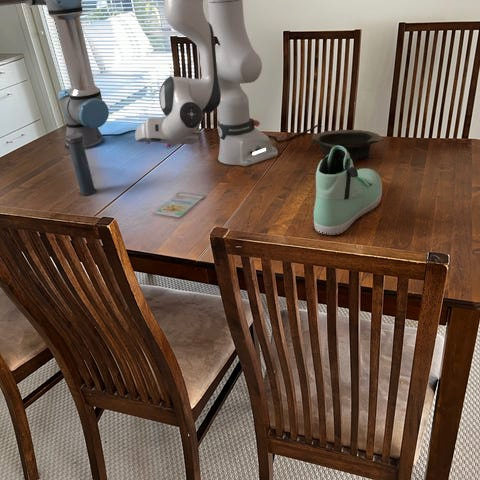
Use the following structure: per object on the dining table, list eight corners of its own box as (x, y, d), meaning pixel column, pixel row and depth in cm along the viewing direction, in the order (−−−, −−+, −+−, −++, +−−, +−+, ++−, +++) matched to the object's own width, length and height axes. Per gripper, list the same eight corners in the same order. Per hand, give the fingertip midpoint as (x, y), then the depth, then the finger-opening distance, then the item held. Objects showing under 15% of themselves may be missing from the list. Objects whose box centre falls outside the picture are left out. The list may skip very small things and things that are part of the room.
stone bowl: (339, 174, 158) (339, 147, 154) (298, 157, 178) (296, 133, 174) (397, 156, 167) (398, 130, 163) (351, 141, 187) (350, 118, 183)
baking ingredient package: (153, 211, 144) (180, 191, 155) (154, 213, 144) (180, 193, 156) (178, 216, 140) (203, 195, 152) (178, 217, 141) (204, 197, 152)
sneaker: (389, 187, 148) (396, 123, 138) (356, 242, 123) (361, 168, 112) (346, 181, 154) (350, 119, 144) (306, 232, 129) (307, 161, 118)
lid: (75, 144, 149) (73, 139, 148) (63, 142, 151) (61, 137, 150) (86, 138, 153) (85, 134, 152) (74, 137, 155) (73, 132, 154)
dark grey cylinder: (88, 196, 159) (74, 140, 149) (78, 194, 161) (63, 139, 151) (97, 190, 162) (84, 135, 152) (88, 188, 164) (74, 134, 154)
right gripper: (203, 122, 157) (188, 134, 169) (141, 117, 147) (130, 130, 160) (204, 141, 156) (189, 152, 168) (143, 138, 147) (131, 149, 159)
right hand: (160, 141), depth 164 cm, fingers open, 8 cm apart
